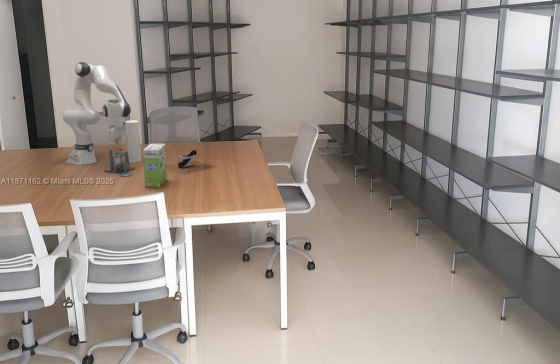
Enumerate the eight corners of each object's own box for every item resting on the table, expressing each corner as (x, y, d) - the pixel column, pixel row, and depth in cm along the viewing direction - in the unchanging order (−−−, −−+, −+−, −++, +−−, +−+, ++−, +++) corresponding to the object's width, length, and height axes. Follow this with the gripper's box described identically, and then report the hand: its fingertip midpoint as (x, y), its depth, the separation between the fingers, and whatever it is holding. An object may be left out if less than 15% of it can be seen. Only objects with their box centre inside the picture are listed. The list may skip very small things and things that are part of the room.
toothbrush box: (161, 187, 328) (158, 149, 321) (144, 187, 328) (141, 149, 321) (168, 179, 345) (165, 143, 338) (152, 179, 345) (149, 143, 338)
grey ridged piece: (104, 171, 364) (102, 151, 360) (118, 166, 377) (116, 147, 373) (121, 174, 358) (120, 153, 354) (135, 169, 371) (133, 149, 367)
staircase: (178, 168, 374) (177, 151, 371) (189, 165, 382) (188, 148, 378) (185, 170, 369) (184, 153, 365) (197, 167, 376) (196, 150, 372)
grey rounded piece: (116, 176, 354) (116, 175, 353) (125, 172, 361) (125, 171, 361) (127, 177, 350) (126, 176, 350) (135, 174, 358) (135, 173, 358)
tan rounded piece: (109, 150, 364) (108, 137, 362) (116, 148, 369) (115, 136, 366) (120, 152, 358) (118, 139, 356) (126, 150, 363) (125, 138, 360)
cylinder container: (138, 162, 388) (134, 122, 380) (126, 162, 390) (122, 121, 381) (143, 159, 397) (140, 119, 388) (132, 159, 399) (128, 119, 390)
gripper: (113, 127, 348) (115, 147, 352) (126, 121, 367) (128, 141, 371) (104, 126, 349) (106, 147, 353) (117, 121, 368) (119, 140, 372)
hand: (117, 144), depth 362 cm, fingers closed on tan rounded piece, 6 cm apart
